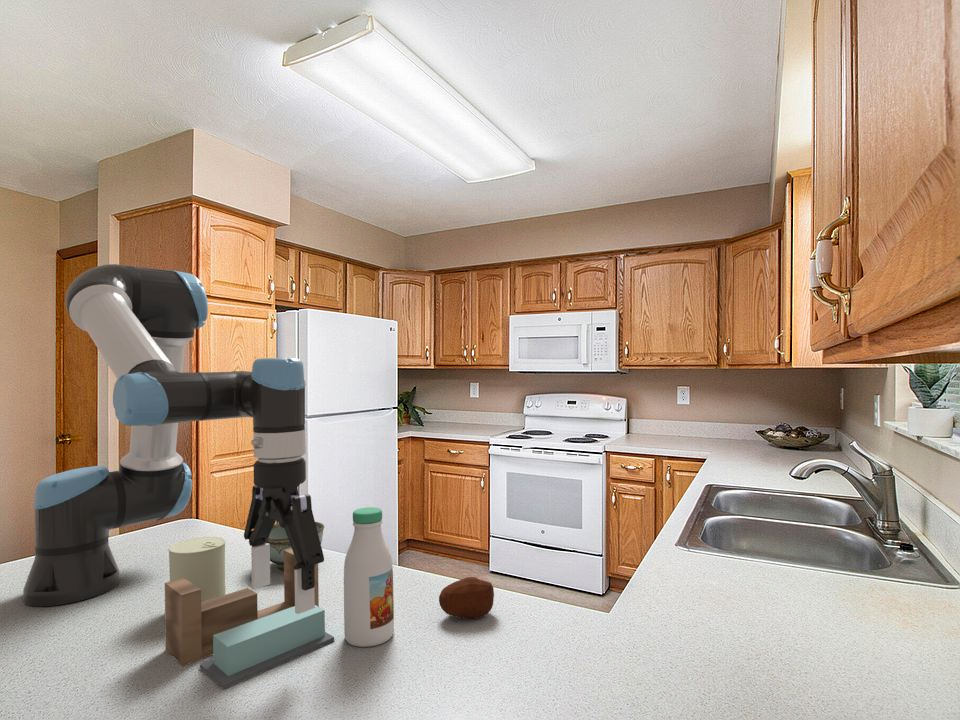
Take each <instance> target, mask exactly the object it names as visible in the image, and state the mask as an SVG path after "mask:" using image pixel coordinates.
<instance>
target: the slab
mask: <svg viewBox="0 0 960 720" xmlns="http://www.w3.org/2000/svg"><path fill="white" fill-rule="evenodd" d="M325 613H326V612H325V609H323V608H322V607H320V606H319V607H318V606H316V605H315V608H313V609H310V610H308V611H305V612H302V613H300V614H296V613H295V606H293V607H291V608H288V609H285V610H282V611H279V612H277V613H274V614H271V615H268V616H265V617H263V618H260V619H257V620H254V621H252V622H249V623H246V624H243V625H240V626H238V627H235V628H232V629H229V630H227V631H224V632H221V633H218V634H215V635H213V654H212V656H213V658H212V659H213V663H214V664H215V665H216V666H217V667H218V668H219V669H221V670H222V671H223V672H224V673H225V674H226V675H227V676H230V675H232V674H235V673H237V672H239V671H242V670H244V669H246V668H249V667H251V666H254V665H256V664H258V663H261V662H263V661H265V660H268V659H270V658H273V657H275V656H277V655H280V654H282V653H285V652H287V651H289V650H292V649H294V648H296V647H299V646H301V645H304V644H306V643H308V642H311V641H313V640H315V639H318V638H320V637H323V636H325V632H326V617H325V615H326V614H325Z"/></svg>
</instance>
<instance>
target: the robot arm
mask: <svg viewBox="0 0 960 720" xmlns="http://www.w3.org/2000/svg"><path fill="white" fill-rule="evenodd" d="M206 293H207V292H206V290H205V288H204V286H203V283H202V282H201V281H200V279H199V278H198V277H197V276H195V275H194V274H193V273H188V272H183V271H178V270H175V269H172V270H171V269H161V268H152V267H143V266H142V267H141V266H132V265H125V264H118V263H117V264H115V263H114V264H113V263H112V264H110V263H109V264H103V265H99V266H94V267H92V268H89V269H87V270H85V271H83V272H82V273H81V274H79V275H78V276H77V277H76V278H75V279H74V280H73V281H72V282H71V284H69V287H68V289H67V290H66V294H65V298H64V299H65V300H64V301H65V302H64V304H65V309H66V312H67V314H68V316H69V317H70V319H71V321H72V322H73V324H75V326H76V327H77V328H78V329H80V330H82V331H84V332H87V334H88V336H89V337H90V338H91V340H92V341H93V343H94V344H95V346H96V348H97V350H98V351H99V353H100V354H101V356H102V357H103V359H104V361H105V362H106V363H107V365H108V367H109V368H110V371H112V373H113V375H114V376H115V377H116V381H115V383H114V385H113V389H112V390H113V393H112V405H113V408H114V414H115V418H116V419H117V420H118V422H120V423H121V424H122V425H124V426H128V427H131V429H130V440H129V443H130V444H129V451H128V453H127V454H125V455H124V456H122V457H121V459H119V461H120V462H119V469H118V470H115V471H110V469H108V467H107V466H106V465H105V466H104V465H93V466H87V467H85V466H83V467H80V468H79V467H78V468H74V469H69V470H65V471H62V472H58V473H56V474H52V475H49V476H48V477H45V478H43V479H41V480H40V481H39V482H38V483H37V485H36V486H35V491H34V501H33V504H32V505H33V509H34V559H33V563H32V564H31V568H30V570H29V574H28V576H27V579H26V582H25V584H24V586H23V592H22V594H23V598H22V599H23V603H24V604H25V605H27V606H31V607H51V606H53V607H55V606H60V605H67V604H72V603H76V602H80V601H84V600H88V599H91V598H93V597H94V598H95V597H97V596H99V595H102V594H104V593H106V592H109V591H110V590H111V591H112V589H114V588H115V587H117V585H119V583H120V569H119V566H118V564H117V562H116V560H115V557H114V555H113V552H112V550H111V548H110V543H109V531H110V530H113V529H114V530H115V529H119V528H123V527H129V526H134V525H139V524H143V523H144V524H145V523H149V522H154V521H162V520H164V519H166V518H171V517H175V516H176V515H179V514H180V513H181V512H183V511H184V510H185V509H186V507H187V506H188V503H189V501H190V499H191V495H192V490H193V479H191V478H192V475H193V474H192V471H191V469H190V467H189V465H187V463H185V462H184V458H183V457H182V455H180V454H179V453H178V452H177V441H178V432H179V431H178V430H179V423H180V424H181V423H190V422H200V421H202V422H203V421H213V420H214V421H215V420H216V421H217V420H227V419H237V418H252V423H253V424H252V432H253V439H252V440H251V441H250V443H251V445H252V446H253V457H254V459H257V460H255V462H254V463H253V486H252V487H251V488H252V489H251V490H252V491H251V493H252V494H251V502H250V506H249V510H248V515H247V519H246V524H245V528H244V532H243V539H244V540H248V545H249V546H250V547H251V551H250V553H251V557H250V558H251V589H253V590H255V589H256V590H257V589H260V588H262V587H265V586H269V585H271V561H270V544H268V543H266V544H264V542H268V541H271V540H269V539H270V538H269V535H270V533H271V530H272V528H273V526H274V525H275V524H276V522H277V523H278V524H279V525H280V526H281V527H283V528H284V529H285V532H286V534H287V537H288V540H289V542H290V545H291V548H292V550H293V553H294V556H295V558H296V561H297V564H296V565H295V566H294V575H295V613H296V614H300V613H302V612H305V611H308V610H310V609H313V608H315V589H314V586H315V581H314V580H315V578H314V577H315V570H314V568H315V564H318V565H319V564H320V563H324V561H325V555H324V553H323V549H322V542H321V543H320V540H319V536H318V532H317V528H316V524H315V522H316V520H315V516H314V513H313V509H312V508H313V507H312V505H313V504H312V497H311V494H309V493H308V494H302V495H300V493H299V486H300V485H301V484H303V483H305V482H306V479H307V467H306V466H307V464H306V463H307V462H306V459H305V458H304V457H303V456H304V455H306V454H307V453H306V448H307V447H306V425H305V424H306V385H307V384H306V380H305V371H304V369H305V368H304V363H303V361H302V360H301V359H299V358H296V357H269V358H268V357H263V358H261V357H260V358H257V359H255V360H254V361H253V363H252V367H251V371H246V370H239V371H238V370H236V371H235V370H232V371H210V372H208V371H205V372H203V371H202V372H201V371H200V372H199V371H198V372H197V371H195V372H184V371H183V370H184V360H185V347H186V345H187V343H189V342H191V341H192V340H194V338H195V337H194V336H195V329H196V330H198V329H200V328H203V327H204V325H205V324H206V321H207V320H208V314H209V304H208V302H209V301H208V298H207V294H206Z"/></svg>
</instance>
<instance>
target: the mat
mask: <svg viewBox="0 0 960 720" xmlns="http://www.w3.org/2000/svg"><path fill="white" fill-rule="evenodd" d="M333 642H335V636H333V635H331V634H330V633H328V632H326V631H325V636H323V637H320V638H318V639H315V640H313V641H311V642H308V643H306V644H304V645H301V646H299V647H296V648H294V649H292V650H289V651H287V652H285V653H282V654H280V655H277V656H275V657H273V658H270V659H268V660H265V661H263V662H261V663H258V664H256V665H254V666H251V667H249V668H246V669H244V670H242V671H239V672H237V673H235V674H232V675H230V676H227V675H226V674H225V673H224V672H223V671H222V670H221V669H219V668H218V667H217V666H216V665H215V664H214V663H213V658H211V659H209V660H206V661H203V662H201V663H199V669H200V670H202V672H204V673H205V674H206V676H208V677H209V678H210V679H212V681H213V682H215V684H217V685H218V686H219V687H220V688H221V689H222V690H225V689H227V688H230V687H232V686H234V685H237V684H238V683H240V682H243V681H245V680H249V679H250V678H253V677H255V676H257V675H260V674H261V673H264V672H267V671H268V670H270V669H273V668H275V667H276V668H277V667H278V666H279V665H280V666H281V665H282V664H284V663H287V662H289V661H291V660H294V659H297V658H298V657H301V656H303V655H305V654H307V653H310V652H313V651H314V650H318V648H319V649H320V648H321V647H323V646H326V645H328V644H330V643H333Z"/></svg>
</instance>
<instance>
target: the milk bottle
mask: <svg viewBox="0 0 960 720" xmlns="http://www.w3.org/2000/svg"><path fill="white" fill-rule="evenodd" d="M352 522H353V523H352V526H354V529H353V536H352V539H351V542H350V544H349V546H348V549H347V550H346V555H345V559H344V566H343V618H344V619H343V622H344V623H343V624H344V626H343V627H344V629H343V630H344V639H345V641H346V642H347V643H348V644H349V645H351V646H353V647H360V648H369V647H375V646H379V645H381V644H384V643H386V642H387V641H389V640H390V639H391V638H392V636H393V634H394V631H395V630H394V629H395V620H394V619H395V617H394V616H395V610H394V609H395V607H394V606H395V605H394V603H395V602H394V601H395V600H394V570H393V569H394V568H393V558H392V554H391V551H390V547H389V546H388V544H387V542H386V540H385V537H384V534H383V532H382V525H383V510H382V509H381V508H379V507H374V506H373V507H372V506H369V507H360V508H357V509H355V510H353V512H352Z"/></svg>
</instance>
